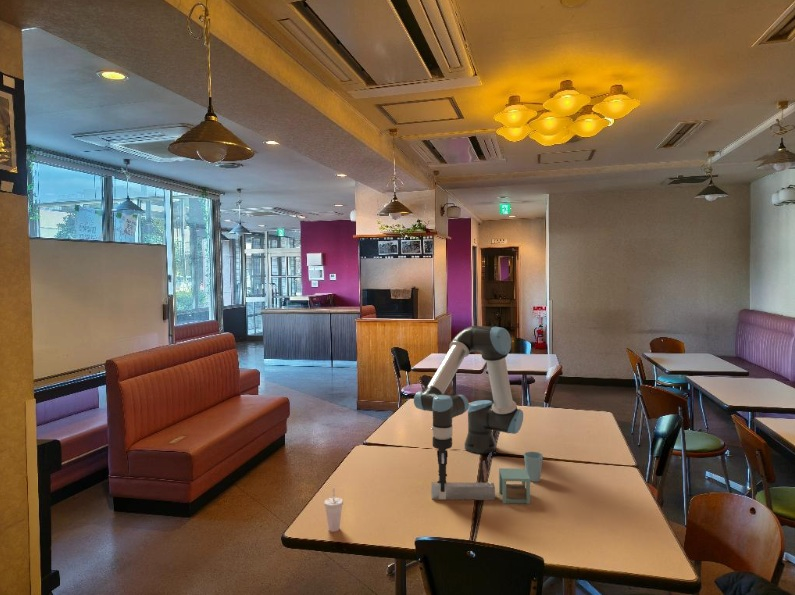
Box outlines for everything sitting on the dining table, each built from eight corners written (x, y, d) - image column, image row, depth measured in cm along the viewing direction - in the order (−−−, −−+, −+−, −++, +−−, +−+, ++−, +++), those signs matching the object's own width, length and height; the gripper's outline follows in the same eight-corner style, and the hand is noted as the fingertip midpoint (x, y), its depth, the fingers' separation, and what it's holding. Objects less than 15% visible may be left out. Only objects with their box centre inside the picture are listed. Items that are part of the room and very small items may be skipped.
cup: (538, 484, 212) (538, 459, 211) (520, 480, 217) (520, 455, 216) (545, 478, 218) (546, 454, 217) (528, 474, 222) (528, 450, 222)
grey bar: (431, 494, 203) (431, 482, 203) (493, 495, 202) (493, 482, 202) (431, 499, 199) (431, 486, 199) (494, 499, 198) (494, 487, 198)
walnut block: (503, 495, 202) (503, 484, 202) (523, 495, 202) (523, 484, 202) (505, 501, 197) (505, 489, 197) (526, 501, 197) (526, 489, 197)
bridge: (499, 492, 205) (499, 468, 204) (524, 492, 204) (524, 468, 204) (502, 503, 195) (502, 478, 194) (530, 503, 194) (530, 478, 194)
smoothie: (344, 524, 180) (343, 484, 180) (342, 533, 174) (342, 492, 173) (325, 524, 180) (324, 484, 179) (323, 534, 174) (322, 492, 173)
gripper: (432, 429, 209) (432, 487, 210) (432, 443, 192) (432, 506, 193) (451, 429, 208) (450, 487, 209) (453, 444, 191) (453, 506, 192)
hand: (442, 496), depth 201 cm, fingers closed on grey bar, 4 cm apart
